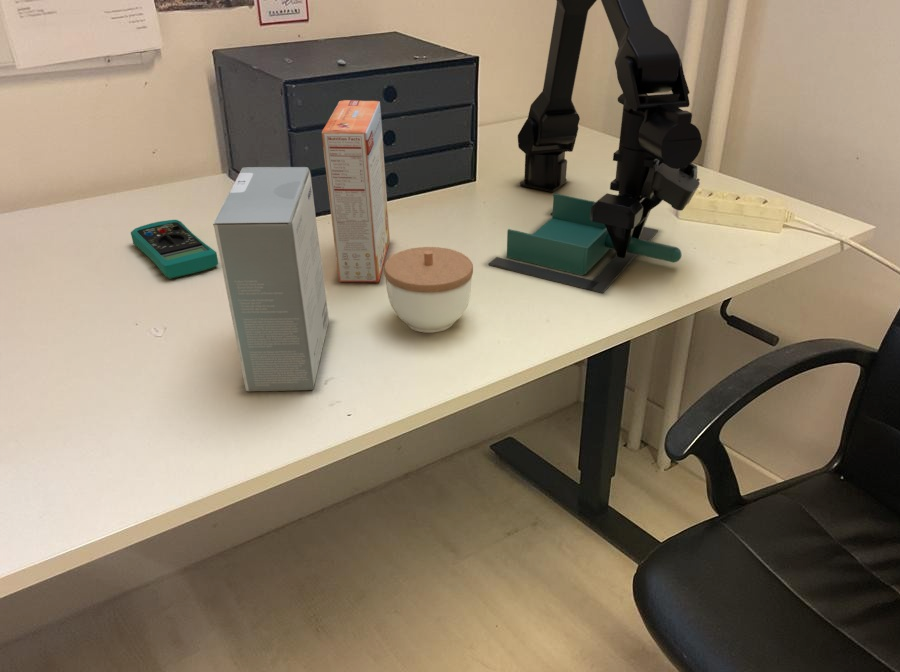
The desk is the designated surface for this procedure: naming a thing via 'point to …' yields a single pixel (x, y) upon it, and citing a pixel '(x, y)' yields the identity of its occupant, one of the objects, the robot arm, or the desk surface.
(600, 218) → the robot arm
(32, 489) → the desk surface
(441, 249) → the trinket box
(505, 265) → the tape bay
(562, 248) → the dustpan
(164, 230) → the digital multimeter
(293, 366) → the hard drive box
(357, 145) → the cracker box
